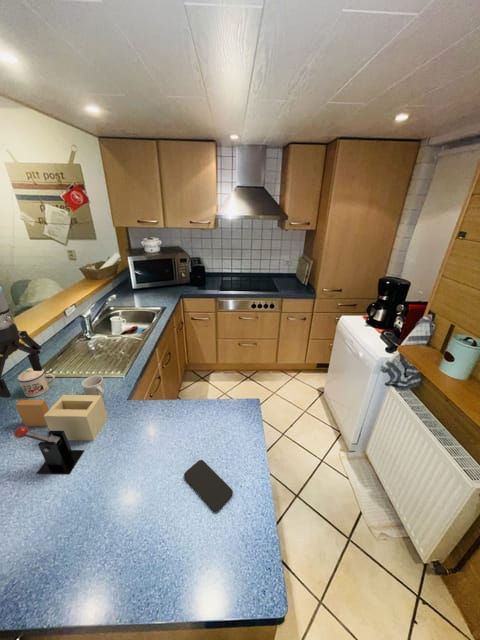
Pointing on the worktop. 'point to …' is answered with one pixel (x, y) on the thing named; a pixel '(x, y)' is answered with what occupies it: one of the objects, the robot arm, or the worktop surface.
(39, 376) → the teacup with lid
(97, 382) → the cup
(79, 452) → the toaster lever bracket
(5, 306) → the robot arm
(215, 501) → the phone
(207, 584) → the worktop surface
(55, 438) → the lever
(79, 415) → the toaster
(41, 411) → the toast
